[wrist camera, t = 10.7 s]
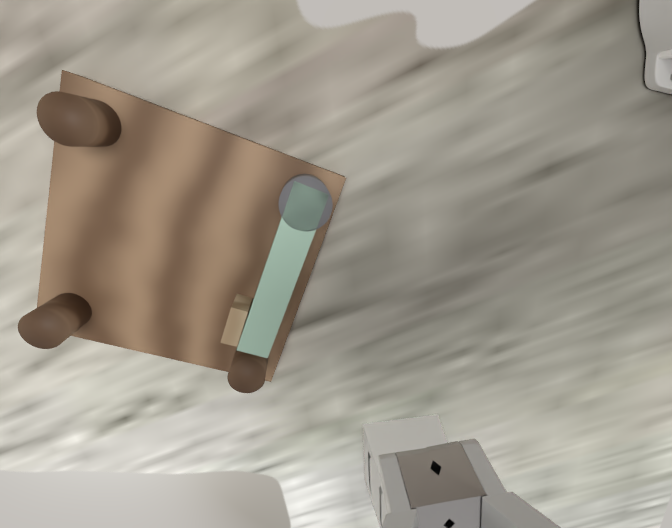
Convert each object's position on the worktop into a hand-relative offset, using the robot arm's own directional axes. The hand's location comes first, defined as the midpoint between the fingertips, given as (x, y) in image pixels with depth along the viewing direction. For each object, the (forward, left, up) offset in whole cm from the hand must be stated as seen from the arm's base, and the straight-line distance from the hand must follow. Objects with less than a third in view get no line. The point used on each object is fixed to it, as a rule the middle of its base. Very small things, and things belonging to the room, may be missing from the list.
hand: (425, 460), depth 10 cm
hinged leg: (+5, +3, -24) cm, 24 cm away
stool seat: (+14, +6, -27) cm, 30 cm away
